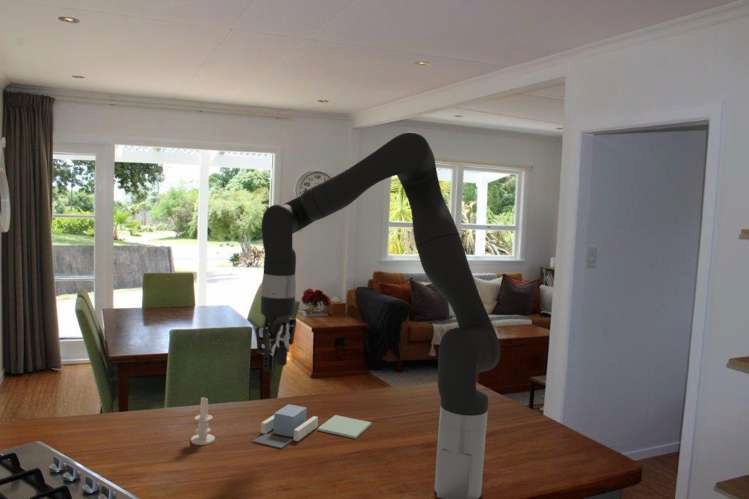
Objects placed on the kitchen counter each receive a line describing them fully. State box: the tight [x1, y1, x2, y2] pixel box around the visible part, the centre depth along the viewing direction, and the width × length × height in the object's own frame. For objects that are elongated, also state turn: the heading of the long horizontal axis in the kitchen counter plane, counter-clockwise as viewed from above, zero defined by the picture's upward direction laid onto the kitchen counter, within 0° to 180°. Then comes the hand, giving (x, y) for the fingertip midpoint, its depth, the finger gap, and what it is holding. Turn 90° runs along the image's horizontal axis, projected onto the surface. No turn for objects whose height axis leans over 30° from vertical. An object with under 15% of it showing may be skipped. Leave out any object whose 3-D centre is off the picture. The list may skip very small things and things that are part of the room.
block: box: [273, 403, 307, 438], centre depth 147 cm, size 7×5×5 cm
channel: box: [252, 414, 319, 450], centre depth 144 cm, size 16×10×2 cm, turn 159°
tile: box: [317, 414, 372, 440], centre depth 150 cm, size 10×10×1 cm
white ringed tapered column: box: [190, 395, 216, 446], centre depth 137 cm, size 5×5×10 cm
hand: (275, 367), depth 137 cm, fingers open, 5 cm apart
